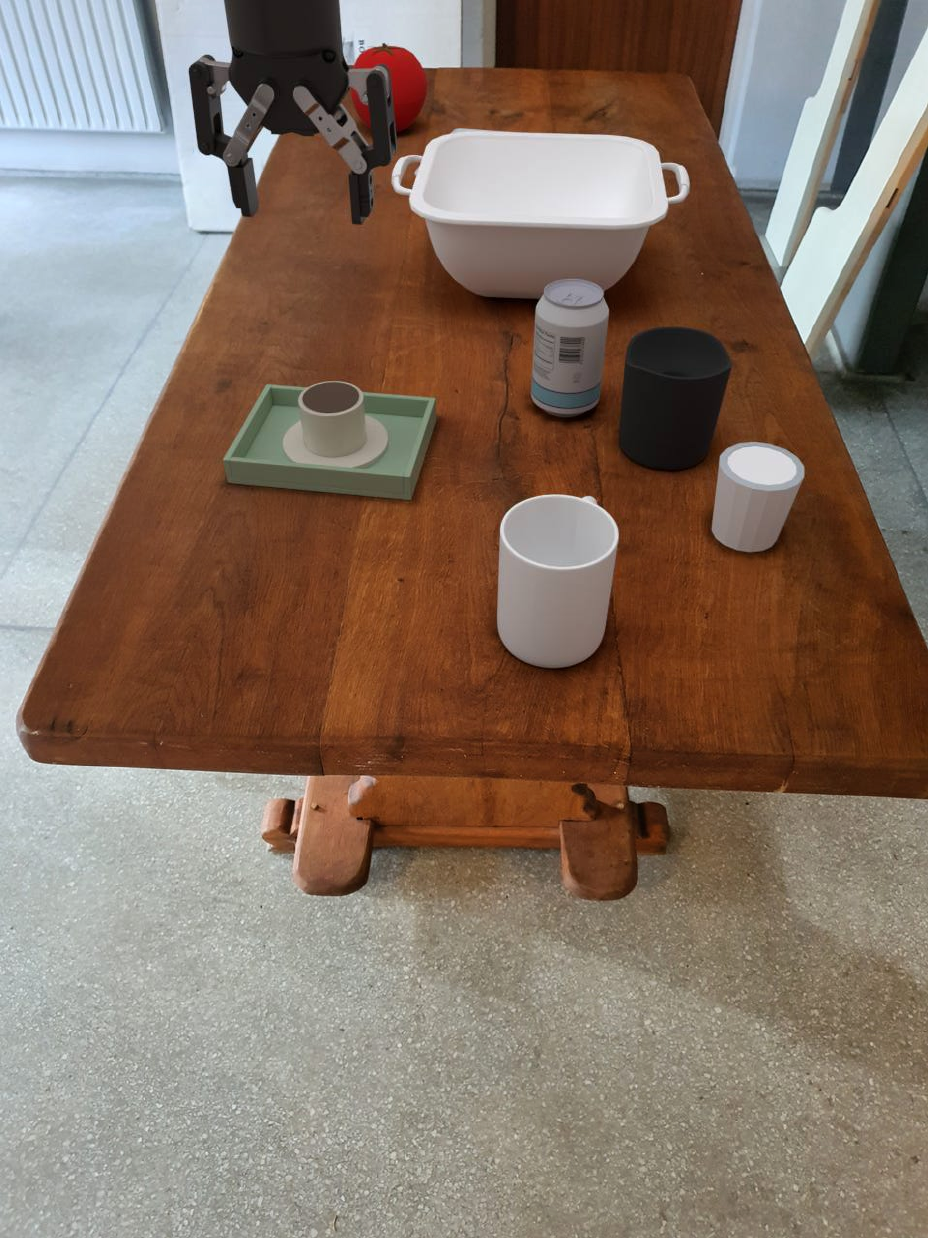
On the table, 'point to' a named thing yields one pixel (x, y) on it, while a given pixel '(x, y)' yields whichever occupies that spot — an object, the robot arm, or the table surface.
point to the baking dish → (537, 206)
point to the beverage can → (569, 347)
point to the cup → (555, 578)
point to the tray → (391, 477)
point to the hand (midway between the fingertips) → (305, 217)
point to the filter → (335, 428)
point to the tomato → (395, 83)
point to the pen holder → (672, 396)
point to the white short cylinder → (754, 494)
